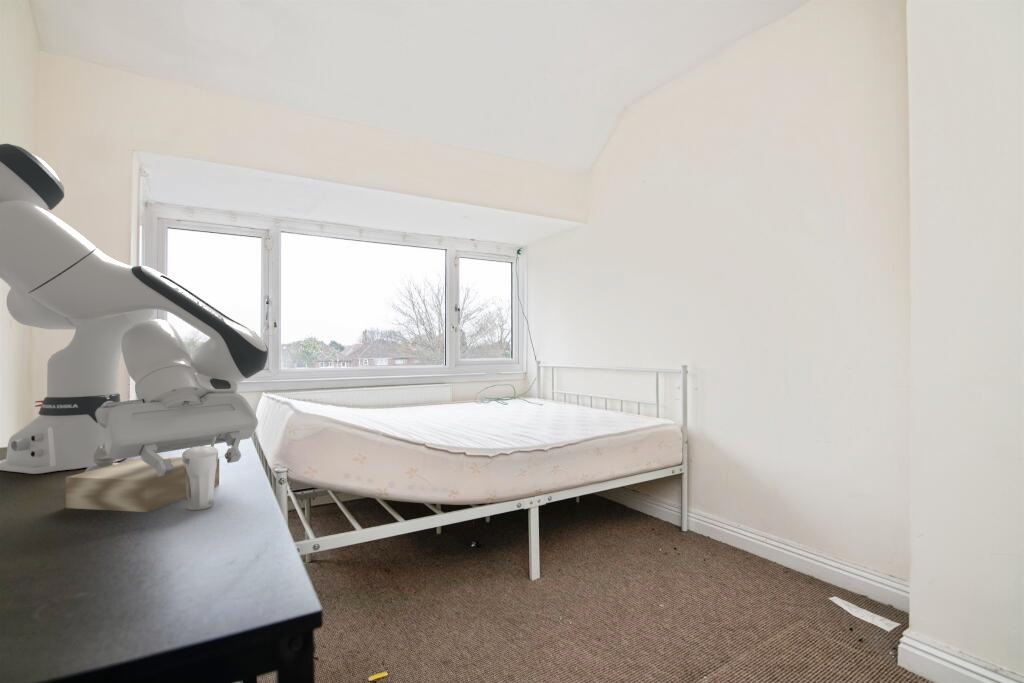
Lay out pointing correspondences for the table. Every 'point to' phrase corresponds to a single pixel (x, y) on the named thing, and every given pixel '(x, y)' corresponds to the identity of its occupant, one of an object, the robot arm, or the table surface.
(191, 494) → the milkshake
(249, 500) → the table surface
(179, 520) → the table surface
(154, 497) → the block
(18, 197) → the robot arm
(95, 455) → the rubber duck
